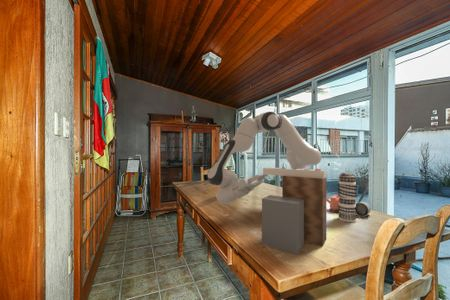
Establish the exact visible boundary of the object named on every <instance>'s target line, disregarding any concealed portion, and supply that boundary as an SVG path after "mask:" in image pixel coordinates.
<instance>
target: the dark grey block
mask: <svg viewBox="0 0 450 300" xmlns="http://www.w3.org/2000/svg"><path fill="white" fill-rule="evenodd" d="M261 245H264V246H267V247H270V248H274V249H278V250H282V251H284V252H288V253H292V254H295V255H299V254H300V253H301V251H302V249H303V248H304V246H305V242H304V200H303V199H295V198H288V197H282V196H281V195H273V194H272V195H271V194H270V195H267V196H264V197H262V198H261Z"/></svg>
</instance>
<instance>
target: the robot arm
mask: <svg viewBox="0 0 450 300" xmlns="http://www.w3.org/2000/svg"><path fill="white" fill-rule="evenodd" d="M272 131H273V132H275V134H276V135H277V137H278V138H279V140H280V142H281V143H282V145H283V146H284V147H285V148H286V149H288V151H286V153H285V159H286V161H287V162H288V163H289V165H290V169H308V167H312V166H317V165H319V164H320V162H321V160H322V152H320V150H319V149H318V148H315V147H313V146H312V144H310V143H309V142H307V141H306V140H305V139H304V138H303V137H302V136H301V134H300V133H299V132H298V130H297V128H296V126H294V123H292V121H291V120H290V119H289V118H288V117H287V116H286V115H285V114H283V113H282V114H281V113H280V114H278V113H276V112H273V111H267V112H263V113H260V114H259V115H256V116H254V117H253V118H252V117H245V118H244V119H242V121H241V123H239V126H238V128H237V129H236V131H235V134H234V136H233V137H232V139H229V140H228V141H227V142H226V143H225V145H224V146H223V147H222V149H221V151H220V153H219V154H218V156H217V158H216V160H215V162H214V163H213V165H211V167H210V168H209V169H208V171H207V175H206V176H207V181H208V182H209V184H211V185H214V186H218V187H219V190H218V192H217V193H216V195H215V198H216V200H217V202H218V203H220V204H221V205H229V204H231V203H232V204H233V202H235V201H237V200H238V199H240V198H243V197H245V196H246V195H249V194H250V193H251V192H252V191H254V190H255V188H256V187H258V186H260V185H261V184H262V183H264V182H265V179H266V178H268V177H269V175H266V174H263V173H262V174H259V175H258V174H257V175H254V176H251V177H246V178H242V177H241V178H240V177H238V175H237V173H235V172H234V171H232V170H229V169H226V168H225V166H226V165H227V163H228V161H229V159H230V158H231V156H232V155H233V154H235V153H240V152H241V153H242V152H247V151H248V150H250V149H251V147H252V146H253V144H254V142H255V138H256V136H257V134H258V133H259V134H260V133H267V132H272Z"/></svg>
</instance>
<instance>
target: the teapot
mask: <svg viewBox="0 0 450 300" xmlns="http://www.w3.org/2000/svg"><path fill="white" fill-rule="evenodd" d="M326 203H328V204H329V208H330V210H331V211H332V212H336V211H340V210H339V209H338V208H339V207H338V206H339V197H338V194H336V195H332V196H331V198H330V199H329V198H328V197H327V196H326Z"/></svg>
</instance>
